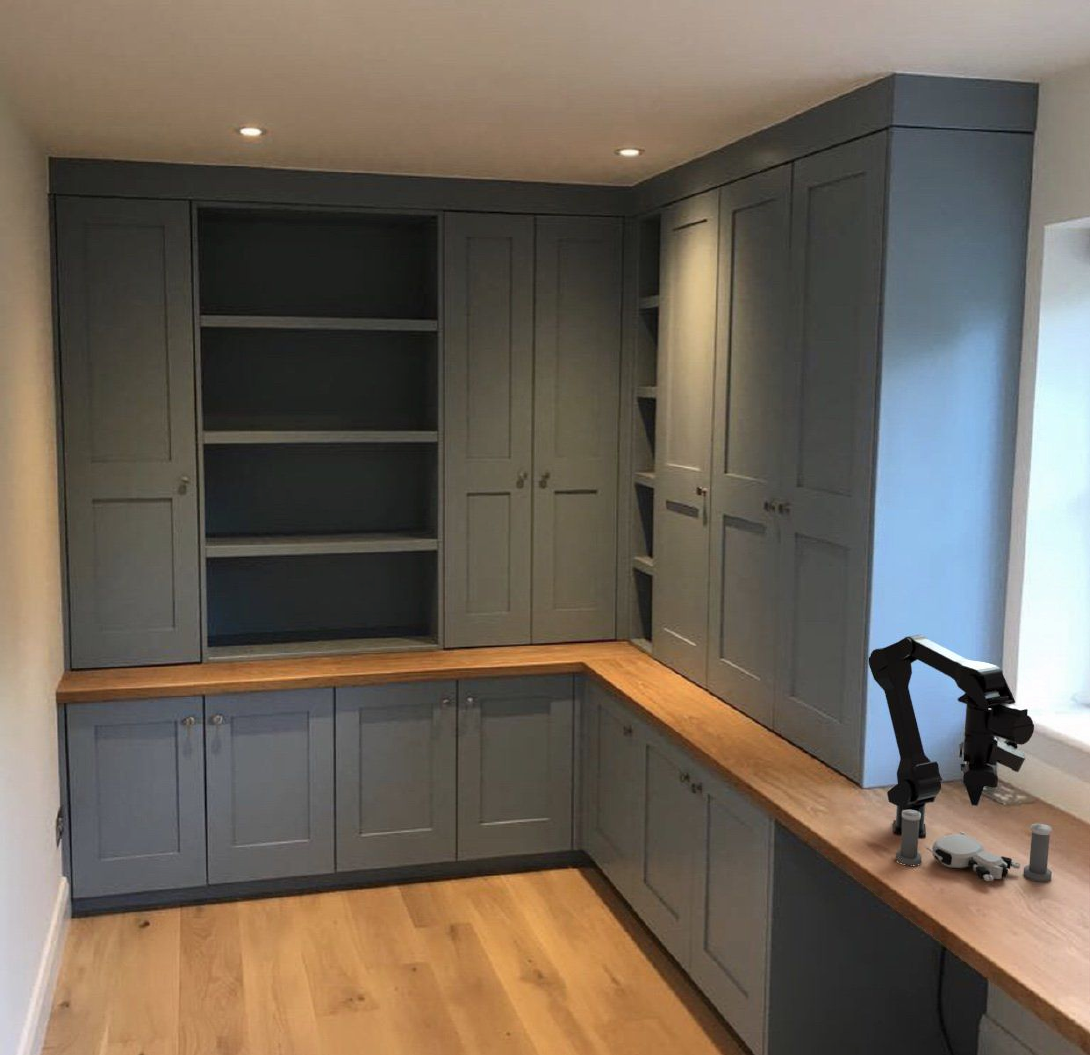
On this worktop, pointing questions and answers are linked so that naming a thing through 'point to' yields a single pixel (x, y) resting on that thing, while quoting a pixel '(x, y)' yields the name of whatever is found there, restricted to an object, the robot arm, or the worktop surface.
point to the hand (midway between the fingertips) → (974, 804)
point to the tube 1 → (909, 839)
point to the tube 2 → (1039, 854)
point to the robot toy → (971, 856)
